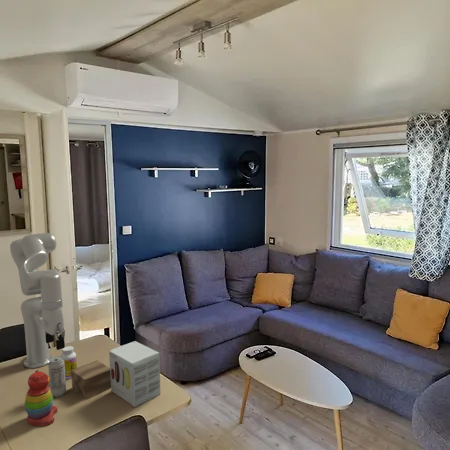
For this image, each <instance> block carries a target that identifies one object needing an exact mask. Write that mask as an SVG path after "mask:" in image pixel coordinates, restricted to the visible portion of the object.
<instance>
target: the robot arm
mask: <svg viewBox="0 0 450 450" xmlns="http://www.w3.org/2000/svg"><path fill="white" fill-rule="evenodd" d="M56 239H57V238H56V237H55V235H53V233H50V232H44V233H43V232H42V233H33V234H31V233H30V234H27V235H25V236H24V237H22V238H20V239H19V238H18V239H15V240H13V241H12V242H11V243H10V246H9V249H10V255H11V258H12V260H13V261H14V264H16V267H17V271H18V276H19V284H20V288H21V292H22V294H23V295H24V296H26V297H27V296H35V295H40V296H36V297H30V298H28V299H26V300H24V301H22V303H21V305H20V311H21V312H20V313H21V316H22V320H23V324H24V325H23V326H24V335H25V337H24V338H25V348H26V359H24V361H23V366H24V367H26V368H29V369H31V368H32V369H36V368H41V367H45V366H48V364H49V362H50V359H51V358H53V355H51V354H50V353H49V352H50V351H49V344H50V343H53V342H54V341H55V348H56V351H59V350H62V349H63V348H65V347H66V345H65V344H66V343H65V338H66V337H65V336H66V335H65V334H66V329H65V326H64V325H65V323H64V317H63V316H64V315H63V309H62V308H63V294H62V281H61V278H62V277H61V274H60V273H61V272H59V271H58V270H57V269H54V268H53V269H45V270H39V268H40V267H42V266H44V265H45V264H46V263H47V262H48V260H49V259H48V258H49V257H48V255H49V254H50V253H52V252H53V251H55V250H56V248H57V241H56Z"/></svg>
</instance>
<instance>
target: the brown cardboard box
mask: <svg viewBox="0 0 450 450" xmlns="http://www.w3.org/2000/svg"><path fill="white" fill-rule="evenodd" d="M71 374H72V378H71V386H72V389H73V390H74V391H76V392H77V393H78V394H80V396H82V397H83V398H85V399H88V398H90V397H93V396H96V395H97V394H100V393H101V392H102V393H103V392H104V391H107V390H109V389H111V377H110V366H107V365H106V364H104V363H103V362H101V361H99V360H94V361H92V362H89V363H87V364H84V365H81V366H79V367H78V366H77V368H75V369H73V370H71Z"/></svg>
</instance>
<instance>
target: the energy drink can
mask: <svg viewBox="0 0 450 450" xmlns="http://www.w3.org/2000/svg"><path fill="white" fill-rule="evenodd" d="M47 366H48V376H49V377H50V382H49V388H50V390H51V393H52V396H53V398H58V397H61V396H64V395H65V393H66V391H67V385H66V383H67V382H66V379H65V366H64V360H63V359H62V357H60V356H54V357H53V356H52V358H51V359H50V362H49V364H47Z"/></svg>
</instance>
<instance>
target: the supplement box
mask: <svg viewBox="0 0 450 450" xmlns="http://www.w3.org/2000/svg"><path fill="white" fill-rule="evenodd" d="M108 353H109V354H108V355H109V368H110V377H111V388H110V391H111V392H112V393H114V394H115V395H117V396H118V397H120V398H121V399H122V400H124V401H125V402H127V403H128V404H130V405H131V406H133V408H136V407H137V406H139V405H141V404H143V403H146V402H148V401H149V400H152V399H154V398H156V397H157V396H160V395H161V393H162V392H161V369H160V368H161V365H160V352H159V351H157V350H155V349H153V348H151V347H150V346H147V345H145V344H142V343H140V342H138V341H136V340H134V341H132V342H131V341H130V342H129V343H126V344H122V345H120V346H117V347H115V348H113V349H110V350H108Z"/></svg>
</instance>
